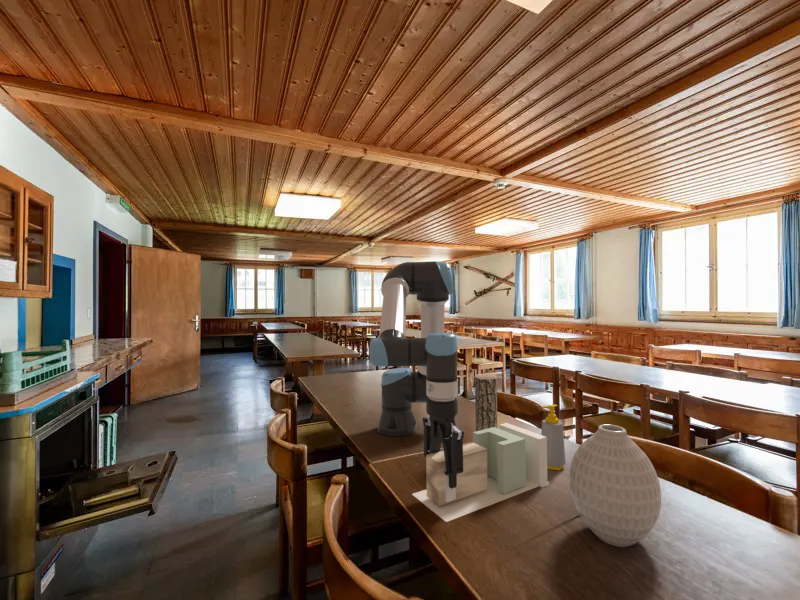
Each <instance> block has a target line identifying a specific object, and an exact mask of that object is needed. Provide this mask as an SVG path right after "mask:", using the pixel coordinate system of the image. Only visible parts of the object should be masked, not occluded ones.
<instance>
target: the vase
mask: <svg viewBox="0 0 800 600" xmlns="http://www.w3.org/2000/svg"><path fill="white" fill-rule="evenodd" d="M569 471H570V472H569V487H570V492H571V497H572V501H573V502H574V505H575V507H576V509H577V512H578V513H579V515H580V517H581V519H582V520H583V521H584V523H585V525H586V526H587V527H588V528H589V529H590V530H591V531H592V532H593V534H594V535H595V536H596V537H597V538H598V539H599V540H600V541H603V542H604V543H605V544H608V545H611V546H614V547H618V548H619V547H620V548H628V547H631V546H633V545H635V544H638V543H639V542H640V541H641V542H642V540H643V539H644V538H646V537H647V536H648V534H650V533H651V531H652V530H653V529H654V528H655V526H656V524H657V522H658V519H659V516H660V514H661V508H662V491H661V484H660V483H661V482H660V480H659V477H658V474H657V472H656V470H655V467H654V465H653V463H652V462H651V460H650V458H649V457H648V456H647V454H646V453H645V452H644V451H643V449H641V448H640V447H639V445H638V444H637V443H636V442H635V441H634V440H633V439H632V438H631V437H630V436H629V435H628V434H627V429H625V428H624V427H622V426H620V425H615V424H607V423H606V424H600V425H598V428H597V431H596V432H595V433H593V434H592V435H590V436H589V437H588V438H586V439H585V440H584V441H583V442H582V443H581V444H580V445H579V446H578V448H577V450H576V451H575V453H574V455H573V458H572V461H571V464H570V470H569Z"/></svg>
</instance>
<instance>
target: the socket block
mask: <svg viewBox="0 0 800 600" xmlns="http://www.w3.org/2000/svg"><path fill="white" fill-rule="evenodd" d="M472 443H475V444H477V445H480V446H482V447H484V448H486V449H487V476H491V477H493V478H495V479H496V480H498V491H499V492H501V493H503V494H505V493H508V492H510V491H513V490H516V489H518V488H521V487H524V486H526V454H525V439H524V438H522V437H519V436H516V435H514V434H511V433H509V432H506V431H503V430H501V429H499V427H497V428H495V427H492V428H488V429H484V430H480V431H476V430H475V431H473V432H472Z"/></svg>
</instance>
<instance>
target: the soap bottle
mask: <svg viewBox="0 0 800 600" xmlns="http://www.w3.org/2000/svg"><path fill="white" fill-rule="evenodd" d="M555 407H558V405H557V404H555V403H553V404H550V405H549V404H547V405H542V406H541V408H542V409H547V410H549V412H550V413H548V414H547V417H545V419H543V420H541V434H540V435H543V436H545V437H547V470H553V471H561V470H563V468H564V466H565V465H566V449H565V438H564V436H565V435H564V423H563V422H562V421H561V420H559V418H558V417H557V414H555Z"/></svg>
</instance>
